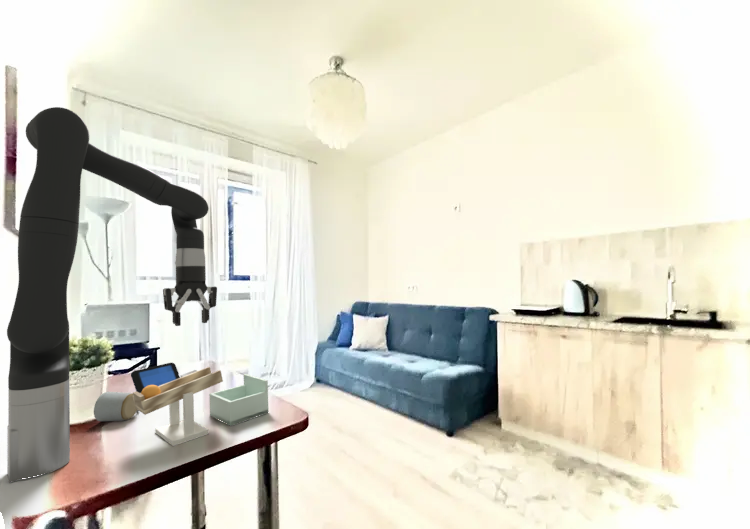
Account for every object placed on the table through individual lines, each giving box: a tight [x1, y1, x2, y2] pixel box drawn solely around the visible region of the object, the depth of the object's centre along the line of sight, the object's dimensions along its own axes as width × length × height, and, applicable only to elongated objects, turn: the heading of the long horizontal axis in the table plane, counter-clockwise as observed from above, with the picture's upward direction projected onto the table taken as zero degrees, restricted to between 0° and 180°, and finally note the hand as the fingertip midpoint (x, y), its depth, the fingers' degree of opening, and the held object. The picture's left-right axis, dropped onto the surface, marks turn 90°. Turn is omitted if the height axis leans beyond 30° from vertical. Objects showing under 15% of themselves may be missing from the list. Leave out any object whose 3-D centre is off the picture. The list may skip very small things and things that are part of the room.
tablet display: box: [130, 362, 181, 393], centre depth 121 cm, size 16×13×9 cm
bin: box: [208, 373, 270, 427], centre depth 99 cm, size 11×12×9 cm
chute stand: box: [154, 392, 209, 447], centre depth 88 cm, size 8×12×10 cm, turn 48°
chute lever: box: [132, 366, 224, 416], centre depth 91 cm, size 18×16×4 cm
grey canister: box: [93, 391, 140, 422], centre depth 100 cm, size 11×8×8 cm
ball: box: [141, 385, 161, 400], centre depth 83 cm, size 4×4×4 cm
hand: (191, 324), depth 100 cm, fingers open, 6 cm apart
